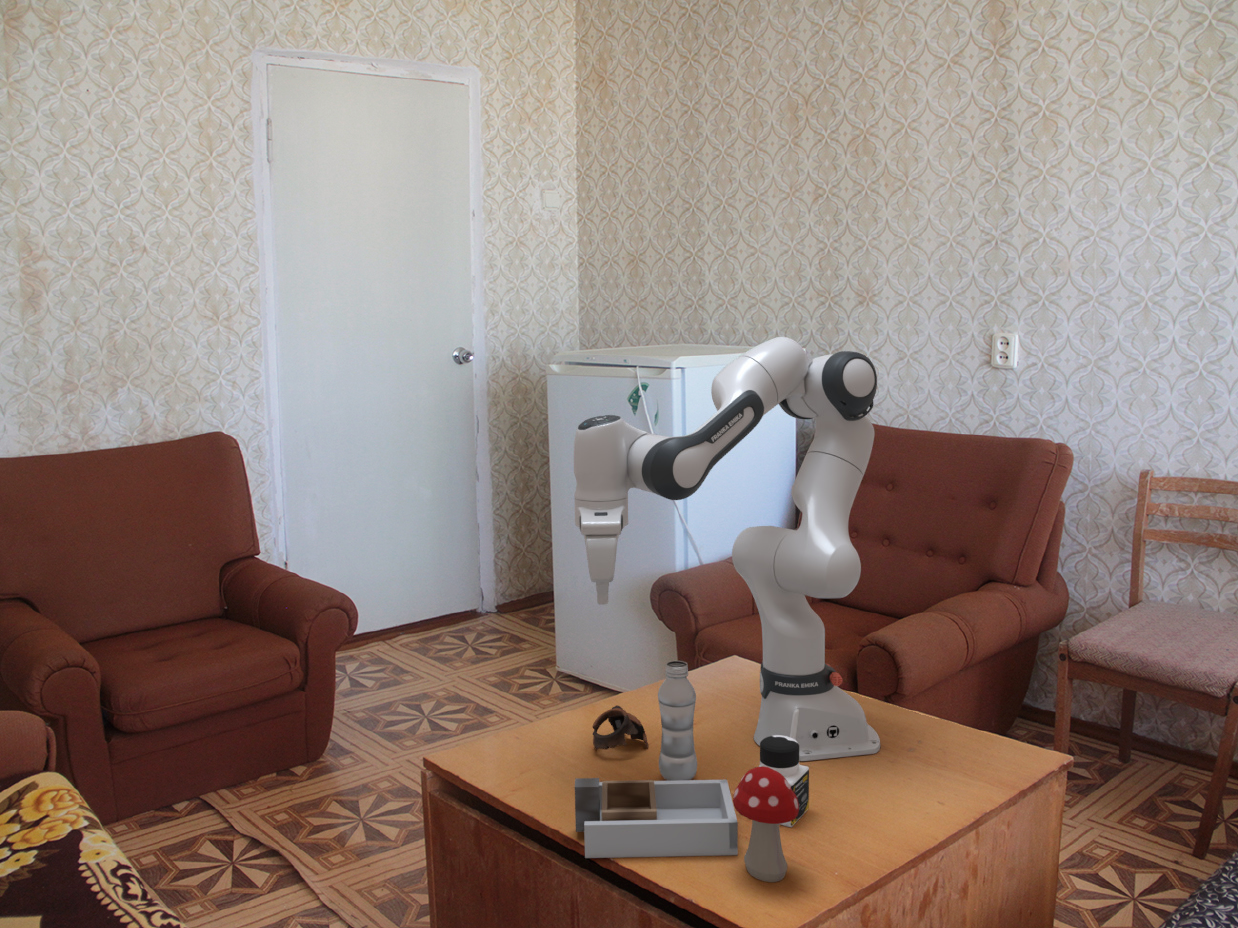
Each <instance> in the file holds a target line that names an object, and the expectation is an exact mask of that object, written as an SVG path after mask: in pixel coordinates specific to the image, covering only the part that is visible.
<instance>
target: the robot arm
mask: <svg viewBox="0 0 1238 928" xmlns="http://www.w3.org/2000/svg"><path fill="white" fill-rule="evenodd" d="M877 375H878V374H877V370H876V367H875V366H874V363H873V362H872V361H871V360H870V358H869V357H868V356H867V355H865V354H864V353H862V352H861V353H860V352H856V351H851V350H845V351H837V352H835V353H831V354H825V355H821V356H817V357H813V358H810V357H808V356H807V353H806V351H805V350H804V348H803V347H802V346H801V344H800V343H799V342H798V341H796V340H794V339H792V338H790V337H786V336H777V337H774V338H771V339H769V340H766V341H764V342H762V343H759V344H757V345H756V346H754V347H752V348H750V349H748V350H747V351H745V352H744V353H742V354H741V355H739V356H738V357H736V358H734V359H733V360H732V361H730V362H729V363H727V364H726V365H725V366H724V367H723V368H721V370H720V371H718V373H717V374H716V376H714V378H713V380H712V383H711V388H710V389H711V390H710V391H711V398H712V402H713V405H714V406H715V409H716V412H715V413H713V415H711V416H710V417H709V418H708V419H707V420H706V421H705V422H703V423H702V424H701V425H700V426H698V427H697V428H696V429H695V430H694V431H693V432H691V433H689V434H686V435H685V434H684V435H679V436H667V435H660V434H657V433H656V434H655V433H651V432H648V431H646V430H642V429H639V428H637V427H635V426H633V425H632V424H630V423H628V422H627V421H625V420H624V419H623V418H622V417H621V416H619V415H615V414H606V415H599V416H593V417H590V418H588V419H585V420H583V421H582V422H581V423H580V424H578V426H577V428H576V431H575V435H574V442H573V443H574V444H573V473H574V476H575V480H576V487H575V490H574V491H575V492H574V524H575V526H576V527H577V528H578V529H579V531H580V534H581V535H582V536H583V538H584V543H585V551H586V557H587V567H588V573H589V577H590V581H591V583H595V587H596V598H597V599H596V600H597V604H598V605H600V606H603V605H608V604H609V589H610V588H609V586H610V583H612V582H614V578H615V572H616V561H617V549H618V548H617V547H618V542H619V537H620V535H621V534H622V531H623V529H624V528H625V527H626V526H627V525H628V524H629V490H630V489H638V490H641V491H643V492H649V493H652V494H656V495H657V496H660V497H663V498H664V499H667V500H670V501H680V500H685V499H687V498H690V497H691V496H692V495H693V494H695V493H697V491H698V490H699V489H700V488H701V486H702V484H703V483H704V482H705V480H706V478H707V476H708V475H709V474H710V472H711V471H712V469H713V468H714V467H715V466H716V464H718V462H719V461H720V460H722V459H723V458H724V457H725V456H726V455H727V454H728V453H729V452H731V450H733V449H734V448H735V447H736V446H737V445H738V444H739V443H740V442H742V441H743V440H744V439H745V438H746V437H747V436H748V435H749V434H750V433H751V432H752V431H753V430H754V429H755V428H756V427H757V426H758V425H759V424H760V422H761V420H762V418H763V417H764V415H766V414H767V413H768V412H770V411H772V409H774V408H775V407H776V406H778V405H779V407H780V408H781V410H782V411H783V412H784V413H785V414H787V415H788V416H790V417H792V418H794V419H798V420H813V419H815V431H814V436H813V440H812V442H811V443H810V445H809V448H808V450H807V452H806V455H805V456H804V459H803V461H802V463H801V466H800V467H799V470H798V472H797V475H796V477H795V480H794V482H793V484H792V487H791V498H792V500H793V502H794V504H795V506H796V507H797V508H798V510H799V511H800V512H801V513H802V514H801V521H800V525H799V527H798V528H797V529H791V528H785V527H779V526H774V525H761V526H760V525H759V526H750V527H746V528H744V529H743V530H742V531H741V532H739V534H738V535H737V537H736V539H735V540H734V543H733V546H732V551H731V558H732V565H733V567H734V569H735V571H736V573H737V574H739V575H740V576H741V578H742V579H743V580H744V581H745V583H746V584H747V586H748V589H749V591H750V592H751V595H752V596H753V598H754V602H755V605H756V608H757V609H758V613H759V618H760V622H761V623H760V624H761V636H762V662H761V664H760V671H759V692H760V695H761V699H760V700H761V701H760V709H759V714H758V720H757V725H756V728H755V732H754V734H753V740H754V742H755V743H756V744H757V745H758V746H759V747H760V742H761V741H762V740H763V739H764V738H766V737H769V736H774V735H782V736H787V737H790V738H793V739H795V740H796V741H797V742H798V743H799V762H808V761H816V760H826V759H834V758H844V757H845V758H846V757H853V756H863V755H865V756H866V755H872V754H877V753H878V752H879V751H880V749H881V741H880V740H881V739H880V736H879V735H878V732H877V731H876V730H875V729H874V728H873V727H872V726H871V725H870V724H868V722H867V721H868V720H867V716H866V714H865V711H864V709H863V708H862V706H861V704H860V703H859V702H858V701H857V700H856V699H855V698H854V697H853V696H851V695H850V694H849V693H847V692H846V691H844V690H843V689H841V688H840V687H839V686H841V685H842V684H843V681H844V680H843V677H842V676H841V674H840V673H839V672H837V671H836V670H835V668H833V667H832V666H831V665H830V664H829V663H828V662H827V663H825V660H826V659H825V658H826V657H825V654H826V652H825V651H826V650H825V649H826V648H825V647H826V641H825V639H826V628H825V625H824V624H825V623H824V622H823V621H822V619H821V617H820V616H819V615H818V614H817V613H816V612H815V611H814V610H813V609H812V607H811V606H810V604H809V602H808V600H807V599H806V596H807V597H812V598H816V599H841V598H845V597H848V595H849V594H851V593H852V592H853V590H855V588H856V587H857V585H858V583H859V581H860V578H861V572H862V567H861V566H862V563H861V560H860V556H859V553H858V551H857V550H856V548H855V547H854V545H853V543H852V541H851V538H850V534H849V521H850V520H849V518H850V514H851V511H852V510H851V509H852V507H853V505H854V501H855V499H856V496H857V493H858V490H859V488H860V486H861V482H862V480H863V479H864V475H865V473H866V470H867V467H868V465H869V461H870V458H871V455H872V449H873V445H874V440H875V428H874V425H873V423H872V422H871V421H870V420H869V419H868V418H867V417H866V416H867V415H868V414H870V412H871V411H872V409H873V408H874V399H875V396H876V393H877V389H878V376H877Z"/></svg>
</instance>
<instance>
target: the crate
mask: <svg viewBox="0 0 1238 928" xmlns="http://www.w3.org/2000/svg"><path fill="white" fill-rule="evenodd" d="M654 781H655V779H642V780H641V779H635V780H632V779H631V780H602V781H601V782H602V821H628V820H657V808H656V797H655V786H654ZM599 782H600V777H587V778H586V777H585V778H576V777H575V780H574V810H575V811H574V813H575V814H574V816H575V821H574V823H575V832H576V833H577V832H578V833H581V832H582V833H584V821H600V795H599Z"/></svg>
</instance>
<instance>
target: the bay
mask: <svg viewBox="0 0 1238 928" xmlns="http://www.w3.org/2000/svg"><path fill="white" fill-rule="evenodd" d="M654 786H655V797H656V808H657V820H628V821H602V781H599V795H600V821H584V832H583V833H584V834H583V835H584V858H585V859H604V858H605V859H607V858H609V859H611V858H650V857H651V858H655V857H656V858H657V857H659V858H661V857H701V856H703V857H706V856H707V857H708V856H710V857H711V856H712V857H714V856H739V855H738V854H739V852H738V851H739V848H738V845H739V844H738V842H739V841H738V840H739V839H738V835H739V834H738V833H739V831H738V830H739V829H738V826H739V825H738V824H739V823H738V819H737V815H736V811H735V810H736V809H735V807H734V804H733V797H732V794H731V791H730V787H729V782H728V780H727V779H691V780H678V781H668V780H654Z"/></svg>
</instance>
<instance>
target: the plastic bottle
mask: <svg viewBox="0 0 1238 928" xmlns="http://www.w3.org/2000/svg"><path fill="white" fill-rule="evenodd" d="M688 665H689V664H688V662H686V661H684V660H670V661H667V662H666V663H665V673H664V675H665V676H666V678H665V679H664V681H663V682H662V684H661V685H660V687H659V689H658V691H657V699H658V705H659V706H658V707H659V713H660V723H661V739H660V741H661V743H660V744H661V745H660V750H659V751H660V752H659V757H658V768H659V773H660V774H661V776H662V777H663V779H664V780H665V781H678V780H694V779H693V778H695V776H696V774H697V771H698V770H697V769H698V759H697V754H696V750H695V741H694V739H695V738H694V718H695V709H696V703H697V702H696V700H697V693H696V691H695V687H694V686H693V684H692V683H691V681H690V680H689V679H688V676H689V671H688V670H689V668H688V667H689V666H688Z"/></svg>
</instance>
